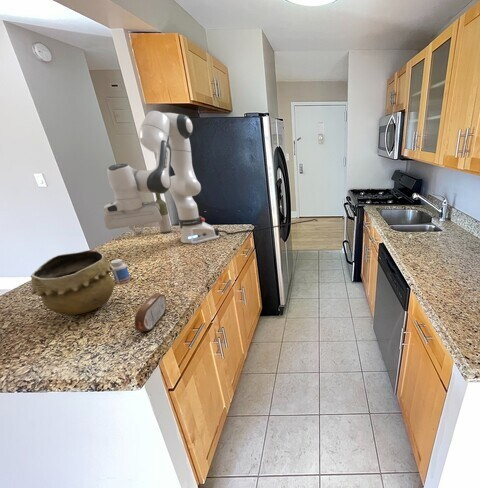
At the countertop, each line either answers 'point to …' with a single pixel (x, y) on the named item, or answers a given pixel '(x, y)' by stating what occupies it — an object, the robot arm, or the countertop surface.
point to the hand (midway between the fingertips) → (139, 234)
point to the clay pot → (74, 282)
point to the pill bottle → (120, 271)
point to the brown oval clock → (150, 312)
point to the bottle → (163, 215)
